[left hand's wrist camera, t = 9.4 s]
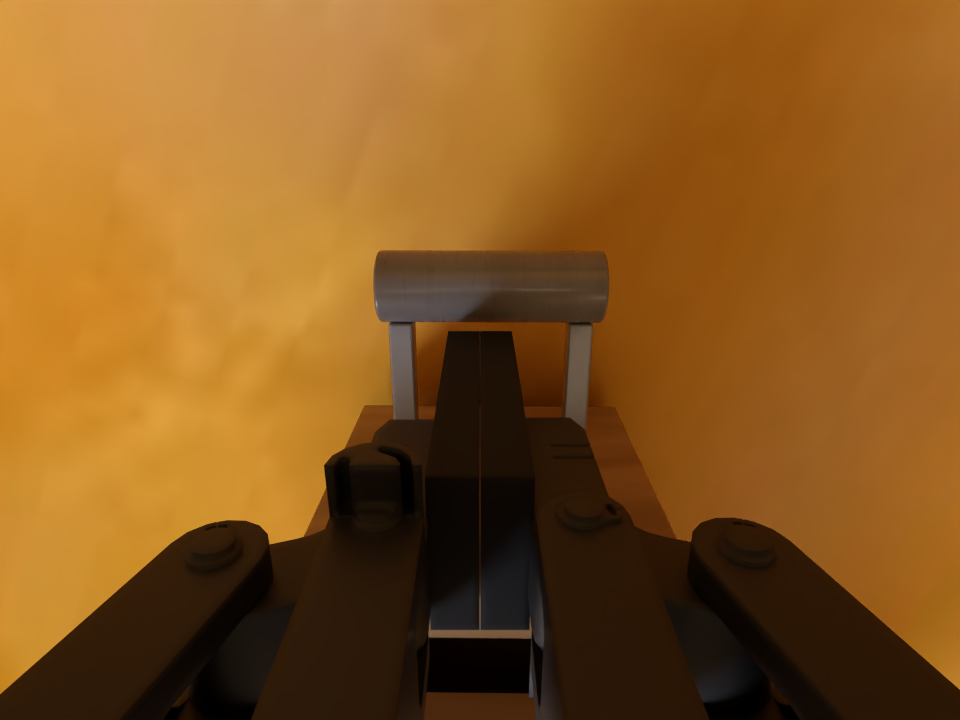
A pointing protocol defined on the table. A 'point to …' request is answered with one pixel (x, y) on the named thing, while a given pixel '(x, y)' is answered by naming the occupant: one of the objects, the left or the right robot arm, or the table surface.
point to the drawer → (524, 298)
